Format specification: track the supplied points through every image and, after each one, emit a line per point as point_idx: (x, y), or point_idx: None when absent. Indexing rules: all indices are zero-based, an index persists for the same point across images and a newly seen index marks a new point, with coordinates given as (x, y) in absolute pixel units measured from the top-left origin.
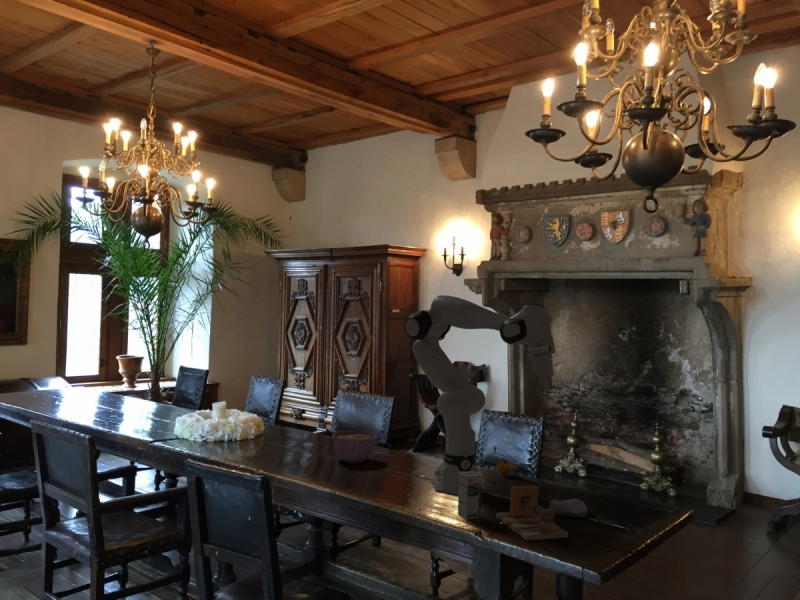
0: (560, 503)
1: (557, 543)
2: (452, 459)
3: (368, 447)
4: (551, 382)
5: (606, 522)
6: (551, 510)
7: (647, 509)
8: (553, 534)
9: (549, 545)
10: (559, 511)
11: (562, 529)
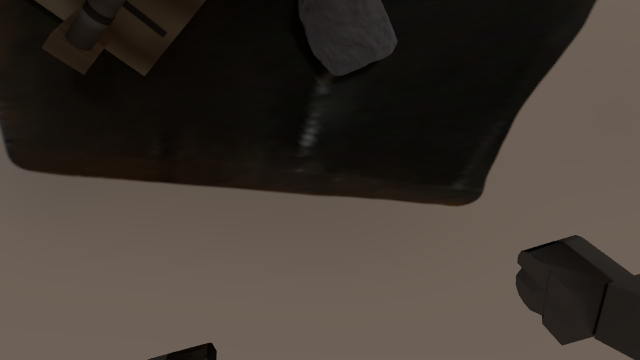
0: (338, 3)
1: None
2: None
3: None
4: (631, 352)
5: (318, 112)
6: (77, 67)
7: (454, 155)
8: (105, 47)
9: None
10: (298, 7)
11: (155, 58)
